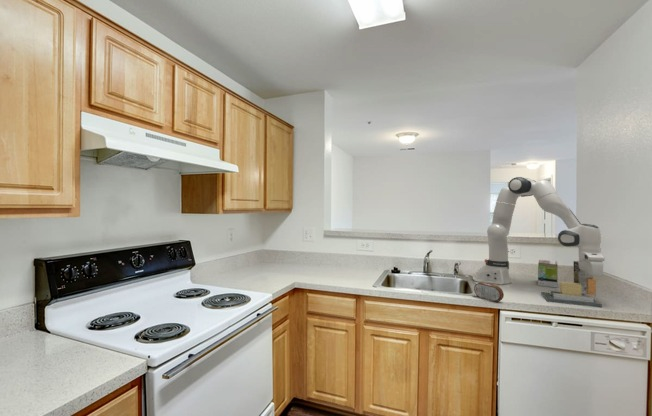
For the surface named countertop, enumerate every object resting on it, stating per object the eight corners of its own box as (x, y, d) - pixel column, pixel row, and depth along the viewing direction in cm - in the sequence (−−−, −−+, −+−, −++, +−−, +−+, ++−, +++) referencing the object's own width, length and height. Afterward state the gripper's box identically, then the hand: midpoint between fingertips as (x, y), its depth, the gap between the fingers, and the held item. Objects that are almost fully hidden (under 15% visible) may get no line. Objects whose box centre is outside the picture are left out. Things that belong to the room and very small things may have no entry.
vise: (547, 301, 154) (547, 293, 154) (540, 294, 167) (540, 287, 167) (602, 307, 145) (602, 299, 145) (590, 299, 158) (590, 291, 158)
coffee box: (573, 287, 184) (573, 261, 184) (586, 288, 181) (585, 261, 182) (579, 290, 175) (579, 263, 175) (593, 291, 173) (593, 264, 173)
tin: (504, 302, 153) (504, 286, 153) (500, 303, 151) (500, 287, 151) (476, 295, 166) (476, 280, 166) (473, 296, 164) (473, 281, 164)
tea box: (557, 288, 181) (557, 264, 182) (537, 285, 187) (537, 262, 188) (557, 283, 193) (557, 260, 193) (538, 281, 199) (538, 259, 200)
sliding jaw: (550, 295, 160) (550, 276, 160) (549, 293, 162) (549, 275, 162) (595, 299, 152) (595, 279, 152) (593, 298, 154) (593, 278, 155)
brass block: (581, 300, 151) (581, 284, 152) (562, 298, 155) (562, 283, 155) (578, 298, 155) (578, 283, 155) (559, 296, 158) (559, 281, 158)
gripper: (574, 251, 167) (574, 276, 167) (589, 257, 148) (589, 285, 148) (589, 252, 164) (589, 277, 164) (606, 258, 146) (606, 286, 146)
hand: (589, 281), depth 156 cm, fingers closed
